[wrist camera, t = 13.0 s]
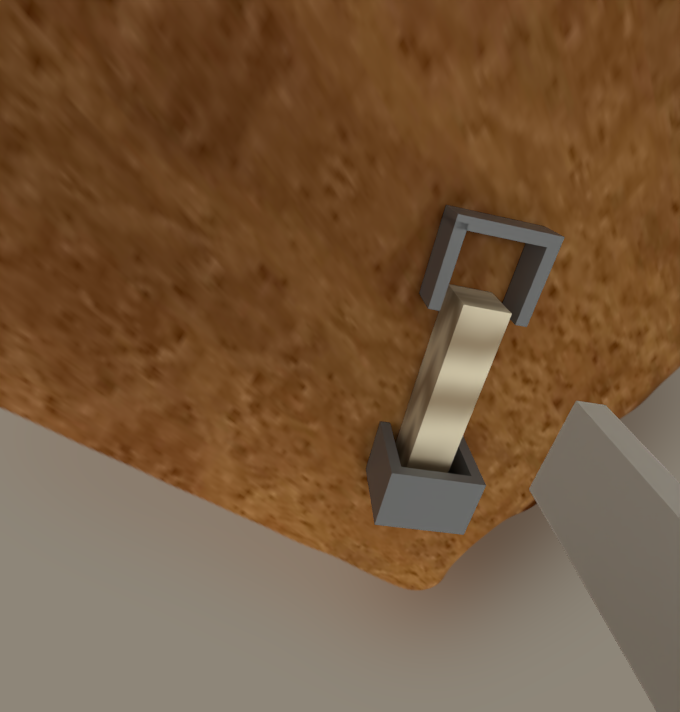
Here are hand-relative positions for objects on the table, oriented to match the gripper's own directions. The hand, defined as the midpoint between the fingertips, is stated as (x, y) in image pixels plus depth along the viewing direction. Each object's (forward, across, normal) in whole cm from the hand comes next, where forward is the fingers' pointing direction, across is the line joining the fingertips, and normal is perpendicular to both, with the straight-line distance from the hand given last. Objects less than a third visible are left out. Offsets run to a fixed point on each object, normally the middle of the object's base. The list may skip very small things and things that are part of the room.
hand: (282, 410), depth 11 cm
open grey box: (+29, +16, -24) cm, 41 cm away
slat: (+30, +16, -15) cm, 37 cm away
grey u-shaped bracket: (+30, +16, -4) cm, 34 cm away
